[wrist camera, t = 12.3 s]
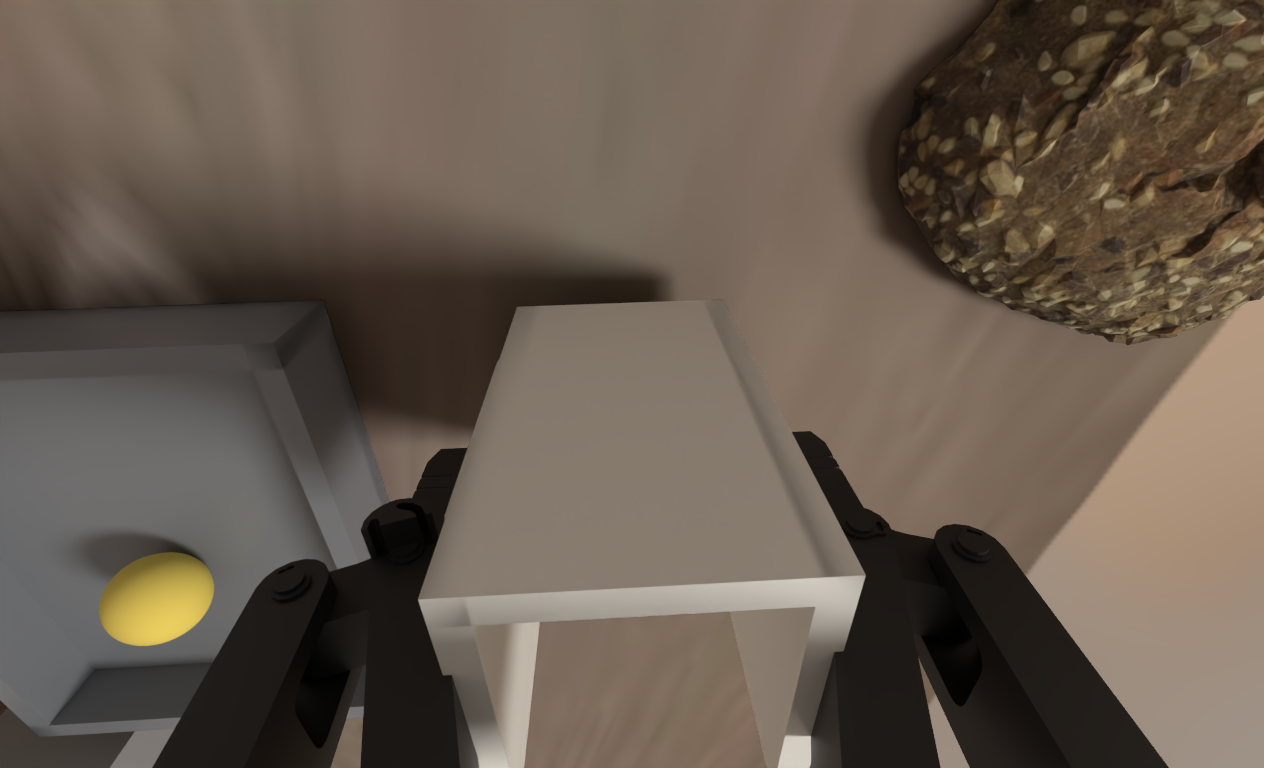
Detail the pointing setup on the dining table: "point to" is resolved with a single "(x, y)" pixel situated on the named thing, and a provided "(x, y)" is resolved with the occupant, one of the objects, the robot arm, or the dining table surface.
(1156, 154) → the bread roll
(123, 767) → the perfume bottle
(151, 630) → the ball
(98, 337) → the tray
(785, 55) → the dining table surface
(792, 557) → the white u-shaped stool
